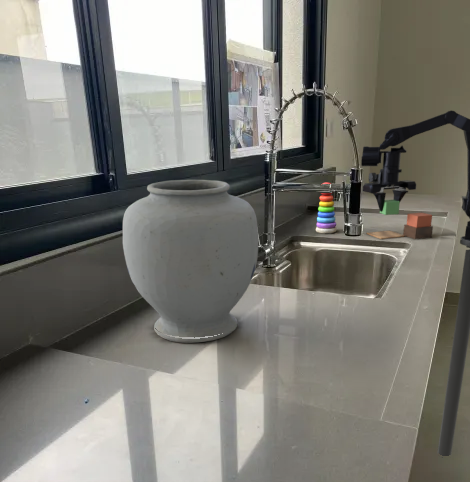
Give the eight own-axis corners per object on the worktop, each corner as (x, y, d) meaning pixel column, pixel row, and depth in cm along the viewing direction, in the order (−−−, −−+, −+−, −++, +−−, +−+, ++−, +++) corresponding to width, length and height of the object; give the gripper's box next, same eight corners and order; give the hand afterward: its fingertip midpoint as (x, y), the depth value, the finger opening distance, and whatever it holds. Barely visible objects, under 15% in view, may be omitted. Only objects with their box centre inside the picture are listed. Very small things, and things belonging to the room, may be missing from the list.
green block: (392, 212, 182) (393, 199, 181) (398, 214, 178) (399, 201, 176) (379, 212, 182) (380, 200, 180) (385, 215, 177) (386, 202, 175)
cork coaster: (389, 231, 190) (389, 230, 189) (405, 236, 181) (405, 235, 181) (366, 233, 187) (366, 232, 187) (381, 239, 178) (381, 238, 178)
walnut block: (419, 233, 184) (420, 222, 183) (431, 237, 178) (432, 226, 177) (403, 235, 183) (404, 224, 181) (414, 239, 176) (416, 228, 175)
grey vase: (274, 311, 113) (273, 176, 102) (234, 362, 90) (228, 193, 79) (169, 301, 122) (158, 175, 111) (108, 345, 99) (87, 191, 88)
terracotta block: (420, 223, 182) (421, 212, 181) (431, 226, 177) (432, 215, 176) (406, 224, 181) (407, 213, 179) (416, 227, 175) (417, 216, 174)
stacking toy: (320, 229, 197) (321, 180, 191) (339, 230, 193) (341, 181, 187) (312, 233, 191) (313, 183, 184) (332, 234, 187) (334, 183, 180)
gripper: (400, 163, 185) (397, 205, 190) (355, 166, 180) (353, 209, 185) (419, 165, 175) (415, 210, 180) (372, 168, 170) (369, 214, 175)
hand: (387, 210), depth 181 cm, fingers closed on green block, 5 cm apart
